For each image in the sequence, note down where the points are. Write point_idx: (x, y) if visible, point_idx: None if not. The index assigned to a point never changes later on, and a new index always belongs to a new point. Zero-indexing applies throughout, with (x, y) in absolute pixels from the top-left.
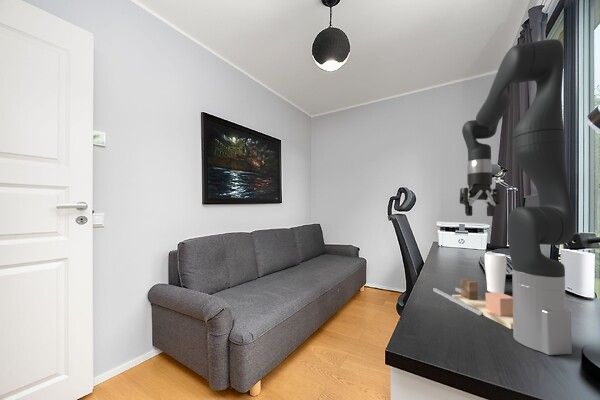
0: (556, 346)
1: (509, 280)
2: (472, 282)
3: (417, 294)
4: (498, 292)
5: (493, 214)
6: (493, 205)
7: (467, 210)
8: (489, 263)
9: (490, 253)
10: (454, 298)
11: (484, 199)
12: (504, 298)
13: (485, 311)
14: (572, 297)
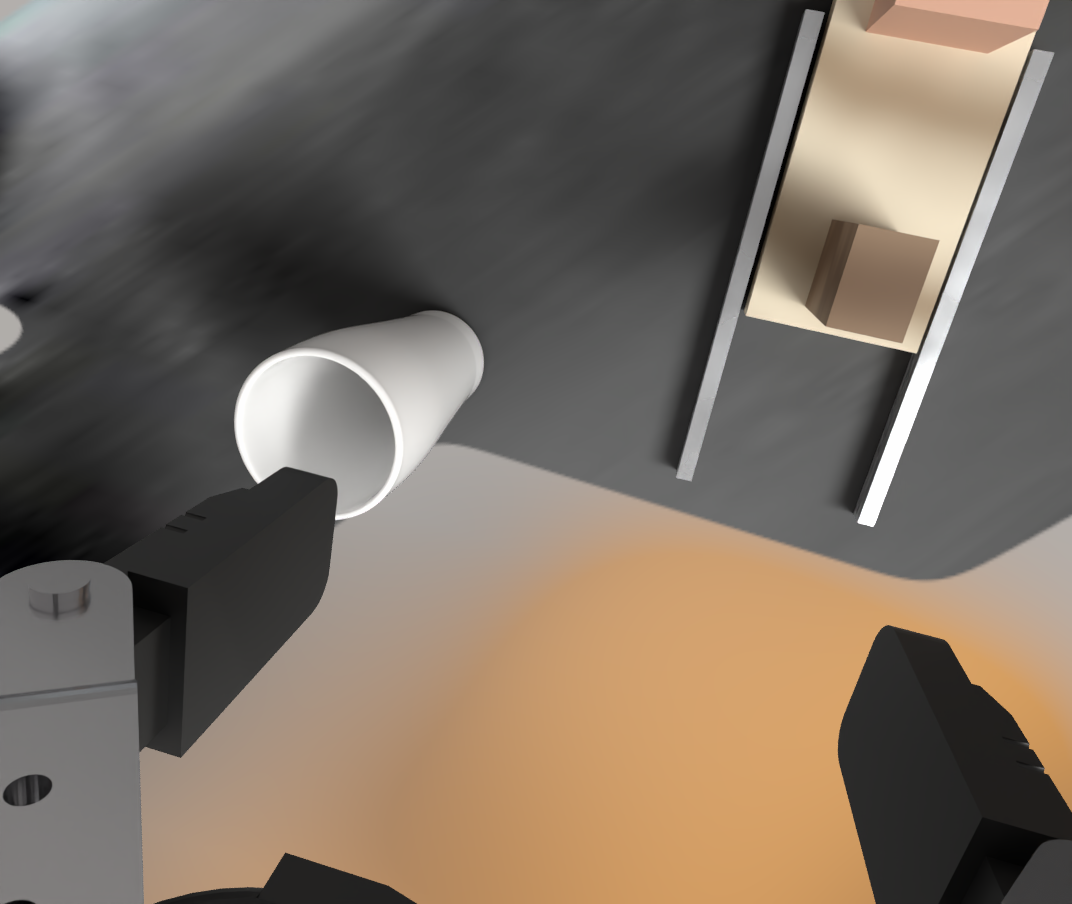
0: None
1: (84, 504)
2: (907, 234)
3: (1065, 502)
4: (912, 6)
5: (279, 473)
6: (118, 578)
7: (1033, 783)
8: (432, 413)
9: None
10: (954, 306)
11: (356, 879)
12: None
13: None
14: (28, 134)
